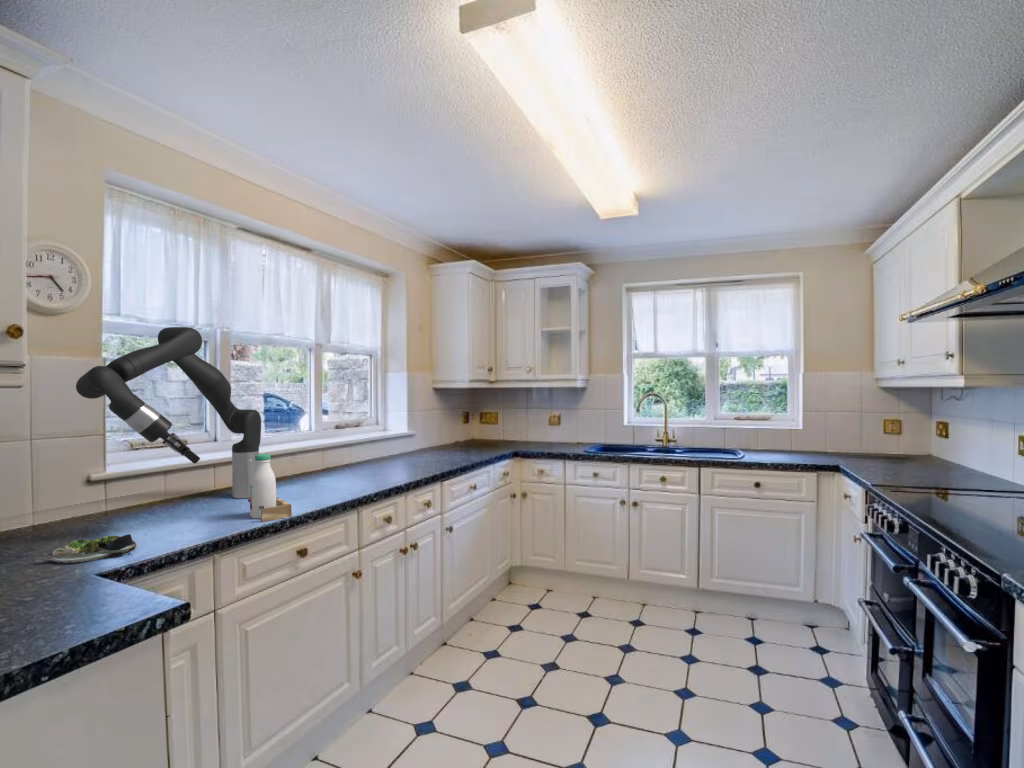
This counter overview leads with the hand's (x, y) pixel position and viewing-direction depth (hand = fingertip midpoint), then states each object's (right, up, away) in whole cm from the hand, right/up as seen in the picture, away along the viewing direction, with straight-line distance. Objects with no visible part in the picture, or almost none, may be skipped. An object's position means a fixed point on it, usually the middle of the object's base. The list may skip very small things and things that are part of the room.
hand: (197, 461), depth 162 cm
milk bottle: (+14, -20, +12) cm, 27 cm away
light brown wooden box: (+16, -20, +13) cm, 29 cm away
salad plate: (-11, -20, -25) cm, 34 cm away
